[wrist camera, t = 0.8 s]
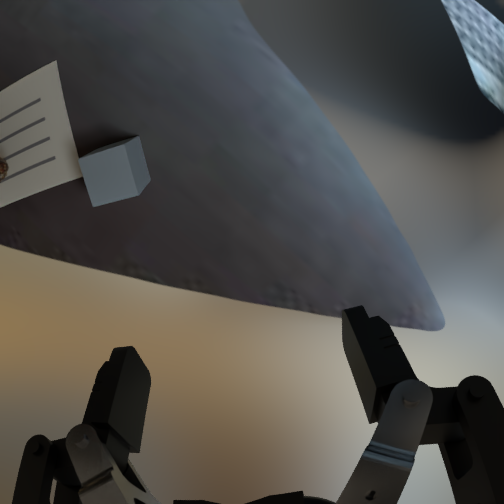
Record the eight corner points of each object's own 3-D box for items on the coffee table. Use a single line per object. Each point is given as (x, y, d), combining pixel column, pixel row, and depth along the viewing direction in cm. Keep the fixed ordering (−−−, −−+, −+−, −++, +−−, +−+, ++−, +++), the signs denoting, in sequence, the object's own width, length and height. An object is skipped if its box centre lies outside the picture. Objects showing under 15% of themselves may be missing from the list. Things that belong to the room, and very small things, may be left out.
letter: (-41, 120, 25) (-42, 121, 25) (56, 60, 24) (55, 60, 24) (-14, 213, 32) (-15, 213, 32) (84, 175, 31) (84, 176, 31)
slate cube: (97, 148, 30) (77, 159, 26) (139, 135, 30) (124, 144, 25) (110, 190, 32) (93, 207, 28) (150, 179, 32) (138, 195, 28)
